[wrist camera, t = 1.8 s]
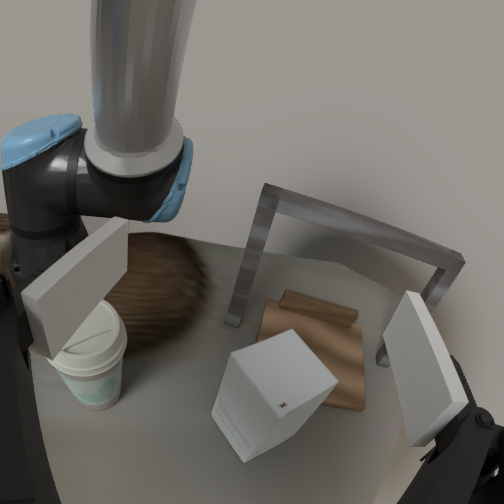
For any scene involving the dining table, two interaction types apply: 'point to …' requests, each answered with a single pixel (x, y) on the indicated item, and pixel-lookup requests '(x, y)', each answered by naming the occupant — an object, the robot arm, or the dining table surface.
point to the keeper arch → (325, 313)
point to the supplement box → (269, 393)
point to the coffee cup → (94, 358)
